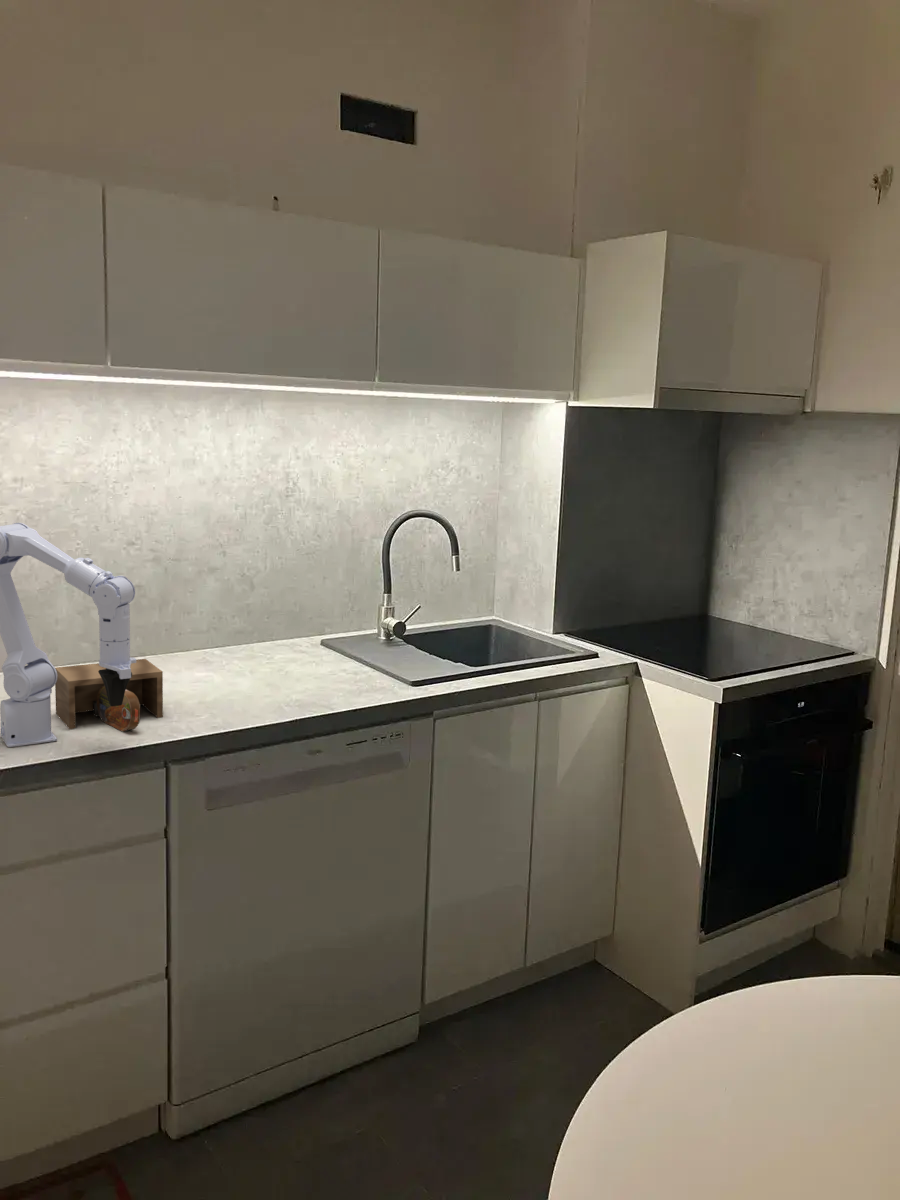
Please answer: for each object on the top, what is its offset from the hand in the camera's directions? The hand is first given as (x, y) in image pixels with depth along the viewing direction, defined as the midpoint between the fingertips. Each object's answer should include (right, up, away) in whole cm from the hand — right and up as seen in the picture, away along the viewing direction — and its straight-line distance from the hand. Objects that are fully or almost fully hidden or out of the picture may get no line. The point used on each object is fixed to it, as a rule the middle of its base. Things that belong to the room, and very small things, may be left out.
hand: (115, 705), depth 201 cm
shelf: (-9, -5, +23) cm, 25 cm away
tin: (-5, -6, +17) cm, 19 cm away
